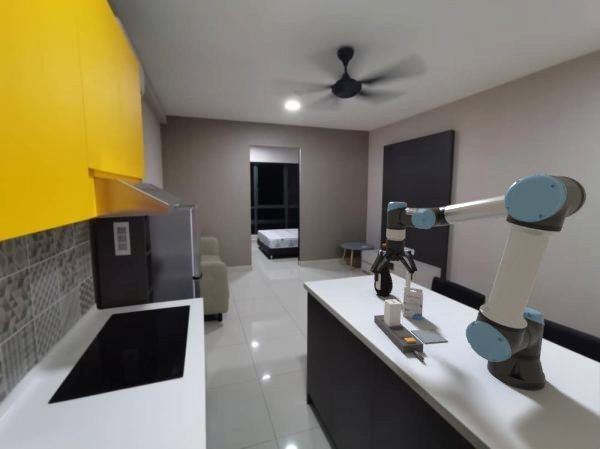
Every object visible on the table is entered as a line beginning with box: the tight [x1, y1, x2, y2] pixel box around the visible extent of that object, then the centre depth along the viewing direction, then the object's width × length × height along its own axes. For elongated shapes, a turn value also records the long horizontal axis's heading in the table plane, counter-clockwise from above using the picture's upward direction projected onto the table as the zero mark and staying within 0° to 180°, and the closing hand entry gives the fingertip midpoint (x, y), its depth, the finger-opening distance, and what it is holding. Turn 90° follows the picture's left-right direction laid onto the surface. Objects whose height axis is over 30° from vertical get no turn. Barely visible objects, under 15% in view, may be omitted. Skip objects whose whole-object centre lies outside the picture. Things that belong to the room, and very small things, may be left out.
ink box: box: [402, 286, 424, 321], centre depth 135 cm, size 8×5×15 cm, turn 62°
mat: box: [410, 328, 448, 345], centre depth 117 cm, size 10×10×1 cm
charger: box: [383, 298, 402, 326], centre depth 121 cm, size 5×5×10 cm
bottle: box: [373, 243, 394, 298], centre depth 164 cm, size 11×11×30 cm
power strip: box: [373, 314, 425, 362], centre depth 115 cm, size 32×8×4 cm, turn 9°
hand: (392, 288), depth 120 cm, fingers open, 13 cm apart
